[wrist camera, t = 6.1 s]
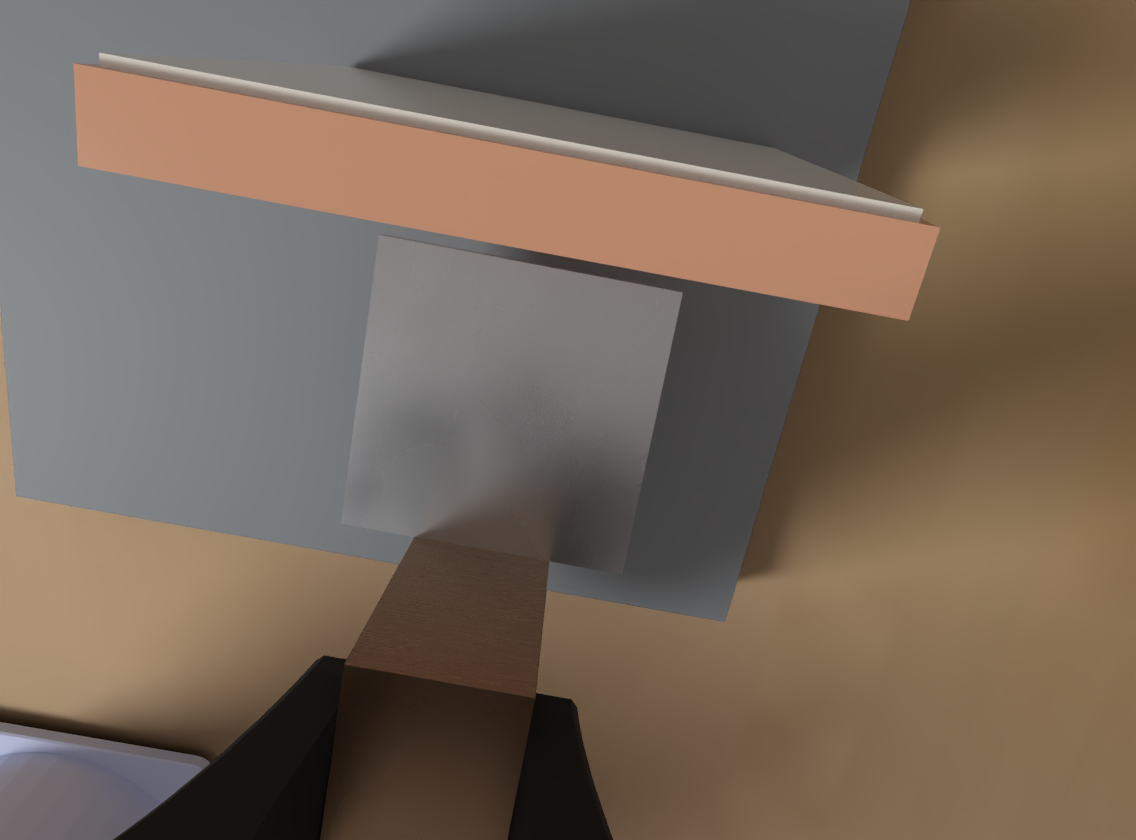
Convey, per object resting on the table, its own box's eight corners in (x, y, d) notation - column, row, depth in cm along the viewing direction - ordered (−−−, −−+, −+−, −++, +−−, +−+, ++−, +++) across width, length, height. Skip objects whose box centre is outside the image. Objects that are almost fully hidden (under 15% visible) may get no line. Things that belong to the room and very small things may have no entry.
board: (717, 584, 20) (724, 622, 19) (57, 467, 20) (16, 496, 19) (1034, -514, 13) (1086, -587, 11) (-18, -737, 12) (-97, -839, 11)
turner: (580, 751, 16) (578, 976, 11) (324, 706, 16) (211, 914, 11) (678, 290, 14) (727, 322, 9) (387, 234, 14) (283, 238, 9)
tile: (765, 205, 15) (909, 321, 8) (336, 124, 15) (78, 165, 8) (780, 148, 15) (945, 214, 8) (340, 64, 15) (72, 48, 7)
